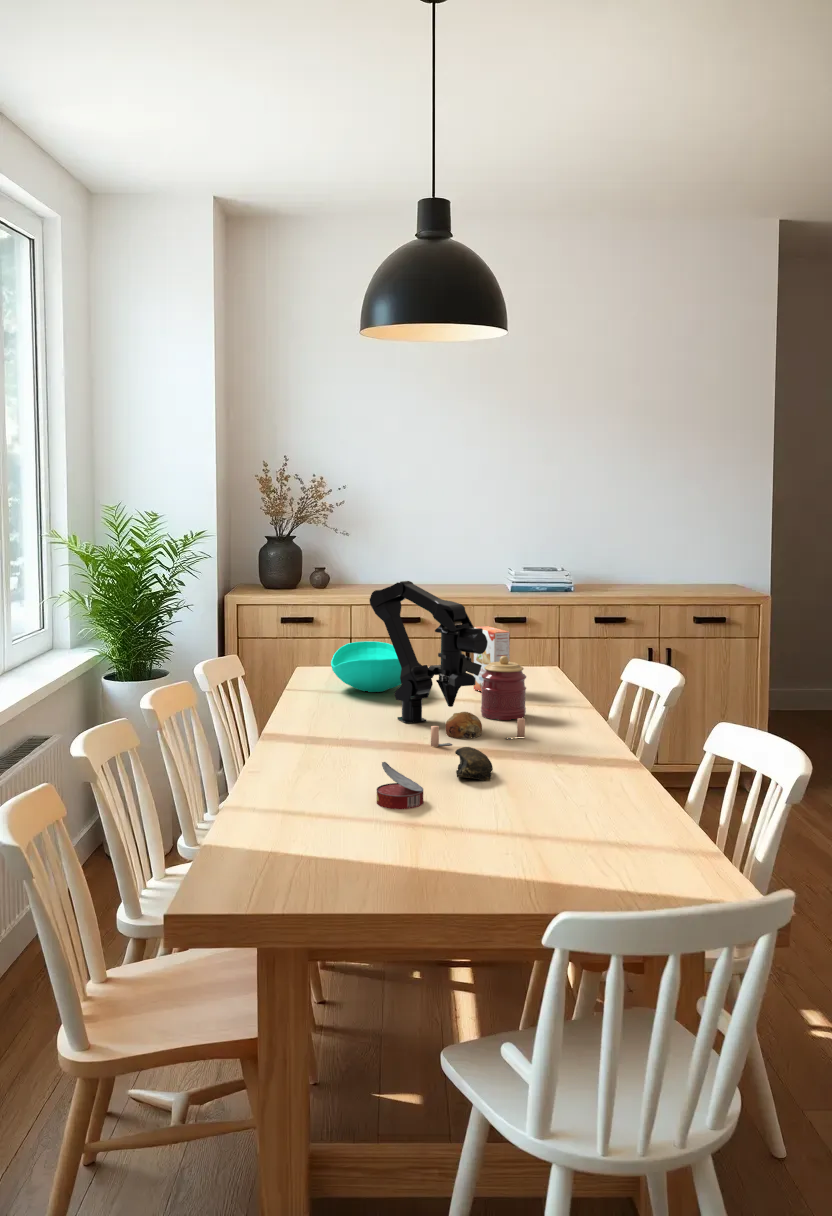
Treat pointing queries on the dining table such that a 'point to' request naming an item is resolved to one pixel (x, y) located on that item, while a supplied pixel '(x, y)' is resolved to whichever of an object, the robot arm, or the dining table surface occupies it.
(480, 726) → the bread roll
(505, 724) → the dining table surface
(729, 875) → the dining table surface
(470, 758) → the seashell
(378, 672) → the table top decor
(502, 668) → the canister
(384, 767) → the canned food
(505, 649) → the cracker box
